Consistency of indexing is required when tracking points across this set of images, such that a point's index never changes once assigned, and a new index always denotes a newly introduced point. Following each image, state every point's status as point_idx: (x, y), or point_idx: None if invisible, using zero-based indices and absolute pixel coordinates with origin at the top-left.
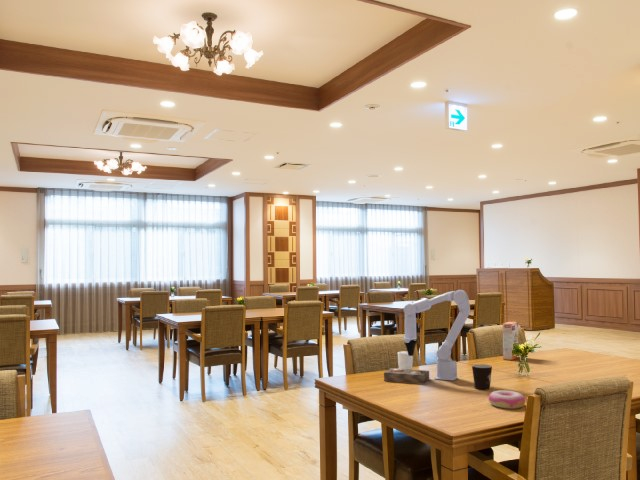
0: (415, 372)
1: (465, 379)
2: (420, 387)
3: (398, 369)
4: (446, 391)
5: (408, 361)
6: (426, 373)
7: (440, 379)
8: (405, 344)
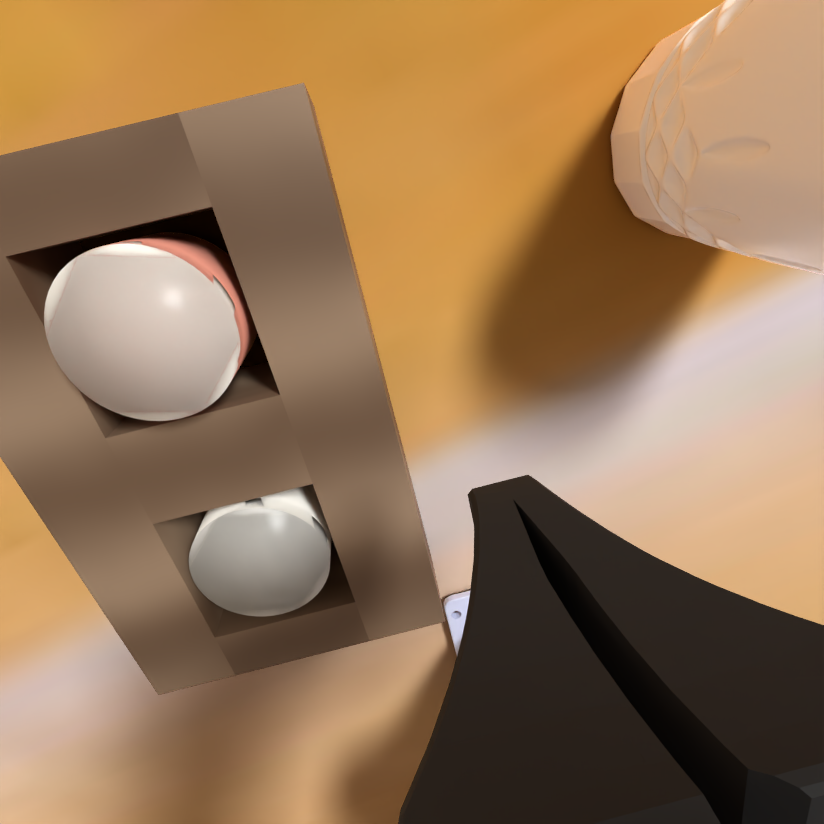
0: (246, 568)
1: None
2: (45, 663)
3: (143, 357)
4: (99, 819)
5: (737, 238)
6: (317, 647)
7: (453, 637)
8: (424, 770)
